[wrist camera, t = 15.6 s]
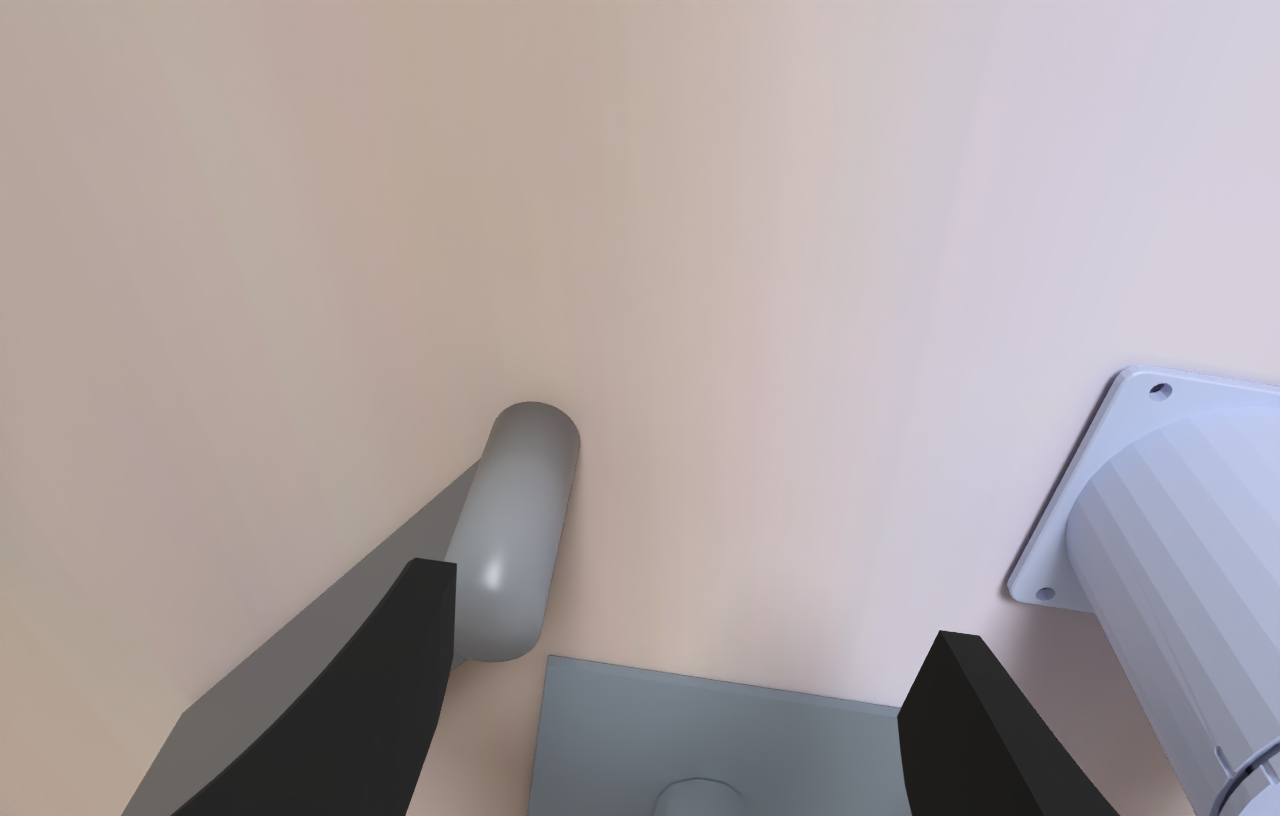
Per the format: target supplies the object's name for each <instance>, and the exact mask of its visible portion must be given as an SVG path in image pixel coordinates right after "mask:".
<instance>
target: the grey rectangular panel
mask: <svg viewBox="0 0 1280 816" xmlns="http://www.w3.org/2000/svg"><path fill="white" fill-rule="evenodd" d="M579 447H580V436H579V433H578V430H577V428H576V426H575V424H574V422H573V421H572V420H571V419H570V418H569V417H568V416H567V415H566V414H565V413H564V412H562V411H561V410H559V409H557V408H556V407H553V406H551V405H548V404H545V403H540V402H522V403H518V404H515V405H512V406H510V407H508V408H506V409H505V410H504V411H502V412H501V413H500V414H499V416H498V417H497V418H496V420H495V422H494V424H493V427H492V430H491V433H490V435H489V438H488V441H487V443H486V446H485V449H484V452H483V454H482V457H481V459H479V460H478V461H477V462H476V463H475V464H474V465H472V466H471V467H470V468H469V469H468V470H466V471H465V472H464V473H463V474H462V475H461V476H459V477H458V478H457V479H456V480H455V481H454V482H452V483H451V484H450V485H449V486H448V487H447V488H445V489H444V490H443V491H442V492H441V493H440V494H438V495H437V496H436V497H435V498H434V499H433V500H431V501H430V502H429V503H428V504H427V505H426V506H424V507H423V508H422V509H421V510H420V511H419V512H417V513H416V514H415V515H414V516H413V517H412V518H410V519H409V520H408V521H407V522H406V523H405V524H403V525H402V526H401V527H400V528H399V529H397V530H396V531H395V532H394V533H393V534H392V535H390V536H389V537H388V538H387V539H386V540H385V541H383V542H382V543H381V544H380V545H379V546H378V547H376V548H375V549H374V550H373V551H372V552H371V553H369V554H368V555H367V556H366V557H365V558H364V559H362V560H361V561H360V562H359V563H358V564H357V565H355V566H354V567H353V568H352V569H351V570H350V571H348V572H347V573H346V574H345V575H344V576H343V577H341V578H340V579H339V580H338V581H337V582H336V583H334V584H333V585H332V586H331V587H330V588H328V589H327V590H326V591H325V592H324V593H323V594H321V595H320V596H319V597H318V598H317V599H316V600H314V601H313V602H312V603H311V604H310V605H309V606H307V607H306V608H305V609H304V610H303V611H302V612H300V613H299V614H298V615H297V616H296V617H295V618H293V619H292V620H291V621H290V622H289V623H288V624H286V625H285V626H284V627H283V628H282V629H281V630H279V631H278V632H277V633H276V634H275V635H274V636H272V637H271V638H270V639H269V640H268V641H266V642H265V643H264V644H263V645H262V646H261V647H259V648H258V649H257V650H256V651H255V652H254V653H252V654H251V655H250V656H249V657H248V658H247V659H245V660H244V661H243V662H242V663H241V664H240V665H238V666H237V667H236V668H235V669H234V670H233V671H231V672H230V673H229V674H228V675H227V676H226V677H224V678H223V679H222V680H221V681H220V682H219V683H217V684H216V685H215V686H214V687H213V688H212V689H210V690H209V691H208V692H207V693H206V694H205V695H203V696H202V697H201V698H200V699H199V700H197V701H196V702H195V703H194V704H193V705H192V706H190V707H189V708H188V709H187V710H186V711H185V712H183V713H182V715H181V717H180V718H179V720H178V722H177V723H176V725H175V727H174V728H173V730H172V732H171V733H170V735H169V737H168V738H167V740H166V742H165V743H164V745H163V747H162V748H161V750H160V752H159V753H158V755H157V757H156V758H155V760H154V762H153V763H152V765H151V767H150V768H149V770H148V772H147V773H146V775H145V777H144V778H143V780H142V782H141V783H140V785H139V787H138V788H137V790H136V792H135V793H134V795H133V797H132V798H131V800H130V802H129V803H128V805H127V807H126V808H125V810H124V812H123V813H122V815H121V816H170V815H171V814H173V813H174V812H175V811H176V810H177V809H179V808H180V807H181V806H182V805H183V804H185V803H186V802H187V801H188V800H189V799H190V798H192V797H193V796H194V795H195V794H196V793H198V792H199V791H200V790H201V789H202V788H203V787H205V786H206V785H207V784H208V783H209V782H211V781H212V780H213V779H214V778H215V777H216V776H217V775H219V774H220V773H221V772H222V771H223V770H224V769H225V768H226V767H227V766H228V765H230V764H231V763H232V762H233V761H234V760H235V759H236V758H237V757H238V756H239V755H240V754H242V753H243V752H244V751H245V750H246V749H247V748H248V747H249V746H250V745H251V744H252V743H253V742H254V741H255V740H256V739H257V738H258V737H260V736H261V735H262V734H263V733H264V732H265V731H266V730H267V729H268V728H269V727H270V726H271V725H272V724H273V723H274V722H275V721H276V720H277V719H278V718H279V717H280V716H281V715H282V714H283V713H284V711H285V710H286V709H287V708H288V707H289V706H290V705H291V704H292V703H293V702H294V701H295V700H296V699H297V698H298V697H299V696H300V695H301V694H302V693H303V691H304V690H305V689H306V688H307V687H308V686H309V685H310V684H311V683H312V682H313V681H314V680H315V679H316V678H317V677H318V676H319V674H320V673H321V672H322V671H323V670H324V669H325V668H326V667H327V665H328V664H329V663H330V662H331V661H332V660H333V658H334V657H335V656H336V655H337V654H338V653H339V651H340V650H341V649H342V648H343V647H344V645H345V644H346V643H347V642H348V641H349V640H350V638H351V637H352V636H353V635H354V634H355V633H356V631H357V630H358V629H359V628H360V626H361V625H362V624H363V623H364V621H365V620H366V619H367V618H368V616H369V615H370V614H371V613H372V611H373V610H374V609H375V607H376V606H377V605H378V604H379V602H380V601H381V600H382V598H383V597H384V596H385V594H386V593H387V591H388V590H389V589H390V587H391V586H392V585H393V583H394V582H395V580H396V579H397V577H398V576H399V575H400V573H401V572H402V570H403V568H404V567H405V565H406V564H407V562H409V561H410V560H412V559H414V558H423V559H430V560H437V561H444V562H451V563H457V579H456V604H455V629H454V654H453V661H452V665H451V669H450V671H451V670H452V669H454V668H455V667H457V666H458V665H460V664H461V663H462V662H464V661H465V660H467V659H468V658H469V659H473V660H477V661H484V662H503V661H508V660H512V659H516V658H518V657H520V656H522V655H524V654H526V653H527V652H529V651H530V650H531V649H532V648H533V647H534V646H535V645H536V643H537V642H538V639H539V637H540V633H541V628H542V624H543V619H544V614H545V609H546V605H547V600H548V595H549V590H550V586H551V581H552V576H553V571H554V566H555V562H556V557H557V552H558V547H559V543H560V538H561V533H562V528H563V524H564V519H565V514H566V509H567V505H568V500H569V495H570V490H571V485H572V481H573V476H574V471H575V466H576V462H577V457H578V452H579Z"/></svg>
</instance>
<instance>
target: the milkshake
mask: <svg viewBox="0 0 1280 816" xmlns="http://www.w3.org/2000/svg"><path fill="white" fill-rule="evenodd" d="M654 816H745V814H744V807H743V799H742V796H741V795H740V794H739V793H737V792H736V791H734V790H733V789H732V788H730V787H729V786H727V785H726V784H725V783H723V782H718V781H711V780H705V779H699V778H693V779H689V780H685V781H681V782H677V783H672V784H670V785H669V786H668V787H667V788H666V789H665V790H664V791H663V792H662V793H661V795H660V796H659V797H658V798H657V801H656V807H655V815H654Z"/></svg>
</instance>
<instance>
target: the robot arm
mask: <svg viewBox="0 0 1280 816" xmlns="http://www.w3.org/2000/svg"><path fill="white" fill-rule="evenodd" d="M1161 383H1165V384H1164V386H1163V387H1162V389H1161V390H1159V391H1157V392H1155V393H1150V390H1151V389H1152V388H1153V387H1154V386H1156V385H1158V384H1161ZM456 579H457V563H451V562H444V561H437V560H430V559H423V558H414V559H412V560H410V561H409V562H407V564H406V565H405V567H404V568H403V570H402V572H401V573H400V575H399V576H398V577H397V579H396V580H395V582H394V583H393V585H392V586H391V587H390V589H389V590H388V591H387V593H386V594H385V596H384V597H383V598H382V600H381V601H380V602H379V604H378V605H377V606H376V607H375V609H374V610H373V611H372V613H371V614H370V615H369V616H368V618H367V619H366V620H365V621H364V623H363V624H362V625H361V626H360V628H359V629H358V630H357V631H356V633H355V634H354V635H353V636H352V637H351V638H350V640H349V641H348V642H347V643H346V644H345V645H344V647H343V648H342V649H341V650H340V651H339V653H338V654H337V655H336V656H335V657H334V658H333V660H332V661H331V662H330V663H329V664H328V665H327V667H326V668H325V669H324V670H323V671H322V672H321V673H320V674H319V676H318V677H317V678H316V679H315V680H314V681H313V682H312V683H311V684H310V685H309V686H308V687H307V688H306V689H305V690H304V691H303V693H302V694H301V695H300V696H299V697H298V698H297V699H296V700H295V701H294V702H293V703H292V704H291V705H290V706H289V707H288V708H287V709H286V710H285V711H284V713H283V714H282V715H281V716H280V717H279V718H278V719H277V720H276V721H275V722H274V723H273V724H272V725H271V726H270V727H269V728H268V729H267V730H266V731H265V732H264V733H263V734H262V735H261V736H260V737H258V738H257V739H256V740H255V741H254V742H253V743H252V744H251V745H250V746H249V747H248V748H247V749H246V750H245V751H244V752H243V753H242V754H240V755H239V756H238V757H237V758H236V759H235V760H234V761H233V762H232V763H231V764H230V765H228V766H227V767H226V768H225V769H224V770H223V771H222V772H221V773H220V774H219V775H217V776H216V777H215V778H214V779H213V780H212V781H211V782H209V783H208V784H207V785H206V786H205V787H203V788H202V789H201V790H200V791H199V792H198V793H196V794H195V795H194V796H193V797H192V798H190V799H189V800H188V801H187V802H186V803H185V804H183V805H182V806H181V807H180V808H179V809H177V810H176V811H175V812H174V813H173V814H171V815H170V816H405V815H406V812H407V809H408V806H409V804H410V801H411V798H412V795H413V792H414V789H415V787H416V784H417V781H418V778H419V775H420V772H421V770H422V767H423V764H424V761H425V758H426V755H427V752H428V750H429V747H430V744H431V741H432V738H433V735H434V732H435V729H436V727H437V724H438V720H439V715H440V711H441V707H442V703H443V699H444V695H445V691H446V686H447V682H448V678H449V674H450V669H451V665H452V661H453V654H454V629H455V604H456ZM1007 586H1008V589H1009V592H1010V594H1011V597H1012V598H1013V599H1014V600H1016V601H1019V602H1023V603H1029V604H1035V605H1042V606H1048V607H1055V608H1061V609H1068V610H1074V611H1081V612H1087V613H1094V614H1096V616H1097V618H1098V620H1099V622H1100V624H1101V626H1102V628H1103V630H1104V632H1105V634H1106V636H1107V638H1108V640H1109V642H1110V644H1111V646H1112V648H1113V650H1114V652H1115V654H1116V656H1117V658H1118V660H1119V662H1120V664H1121V666H1122V668H1123V670H1124V672H1125V674H1126V676H1127V678H1128V680H1129V682H1130V684H1131V686H1132V688H1133V690H1134V692H1135V694H1136V696H1137V698H1138V700H1139V702H1140V704H1141V706H1142V708H1143V710H1144V712H1145V714H1146V716H1147V718H1148V720H1149V722H1150V724H1151V726H1152V728H1153V730H1154V732H1155V734H1156V736H1157V738H1158V740H1159V742H1160V744H1161V746H1162V748H1163V750H1164V752H1165V754H1166V756H1167V758H1168V760H1169V762H1170V764H1171V766H1172V768H1173V770H1174V772H1175V774H1176V776H1177V778H1178V780H1179V782H1180V784H1181V786H1182V788H1183V790H1184V792H1185V794H1186V796H1187V798H1188V800H1189V802H1190V804H1191V806H1192V808H1193V810H1194V812H1195V814H1196V816H1280V387H1279V386H1272V385H1266V384H1260V383H1254V382H1248V381H1242V380H1236V379H1230V378H1223V377H1217V376H1211V375H1205V374H1199V373H1193V372H1187V371H1180V370H1174V369H1168V368H1162V367H1156V366H1150V365H1133V366H1130V367H1127V368H1126V369H1124V370H1123V371H1121V372H1120V373H1119V374H1118V376H1117V377H1116V378H1115V380H1114V382H1113V384H1112V386H1111V388H1110V389H1109V391H1108V393H1107V395H1106V397H1105V399H1104V401H1103V403H1102V405H1101V406H1100V408H1099V410H1098V412H1097V414H1096V416H1095V418H1094V420H1093V422H1092V423H1091V425H1090V427H1089V429H1088V431H1087V433H1086V435H1085V437H1084V438H1083V440H1082V442H1081V444H1080V446H1079V448H1078V450H1077V452H1076V454H1075V455H1074V457H1073V459H1072V461H1071V463H1070V465H1069V467H1068V469H1067V470H1066V472H1065V474H1064V476H1063V478H1062V480H1061V482H1060V484H1059V486H1058V487H1057V489H1056V491H1055V493H1054V495H1053V497H1052V499H1051V501H1050V503H1049V504H1048V506H1047V508H1046V510H1045V512H1044V514H1043V516H1042V518H1041V519H1040V521H1039V523H1038V525H1037V527H1036V529H1035V531H1034V533H1033V535H1032V536H1031V538H1030V540H1029V542H1028V544H1027V546H1026V548H1025V550H1024V552H1023V553H1022V555H1021V557H1020V559H1019V561H1018V563H1017V565H1016V567H1015V568H1014V570H1013V572H1012V574H1011V576H1010V578H1009V580H1008V583H1007ZM1042 588H1047V589H1045V590H1042V591H1039V590H1040V589H1042ZM897 722H898V732H899V742H900V752H901V760H902V767H903V775H904V783H905V788H906V792H907V797H908V801H909V805H910V810H911V814H912V816H1120V815H1119V814H1118V813H1117V812H1116V811H1115V810H1114V808H1113V807H1112V806H1111V805H1110V804H1109V803H1108V801H1107V800H1106V799H1105V798H1104V797H1103V795H1102V794H1101V793H1100V792H1099V791H1098V789H1097V788H1096V787H1095V786H1094V785H1093V783H1092V782H1091V781H1090V780H1089V778H1088V777H1087V776H1086V775H1085V774H1084V772H1083V771H1082V770H1081V769H1080V767H1079V766H1078V765H1077V764H1076V762H1075V761H1074V760H1073V758H1072V757H1071V756H1070V755H1069V753H1068V752H1067V751H1066V750H1065V748H1064V747H1063V746H1062V744H1061V743H1060V742H1059V741H1058V739H1057V738H1056V737H1055V735H1054V734H1053V733H1052V731H1051V730H1050V729H1049V728H1048V726H1047V725H1046V724H1045V722H1044V721H1043V720H1042V718H1041V717H1040V716H1039V714H1038V713H1037V712H1036V710H1035V709H1034V708H1033V706H1032V705H1031V704H1030V702H1029V701H1028V700H1027V698H1026V697H1025V696H1024V694H1023V693H1022V692H1021V690H1020V689H1019V688H1018V686H1017V685H1016V684H1015V682H1014V681H1013V680H1012V678H1011V677H1010V675H1009V674H1008V673H1007V671H1006V670H1005V669H1004V667H1003V666H1002V665H1001V663H1000V662H999V661H998V659H997V658H996V657H995V655H994V654H993V653H992V651H991V650H990V649H989V647H988V646H987V645H986V643H985V642H984V641H983V640H982V638H981V637H980V636H978V635H970V634H963V633H956V632H949V631H942V630H940V631H939V633H938V635H937V637H936V639H935V641H934V643H933V645H932V647H931V649H930V651H929V653H928V655H927V657H926V659H925V661H924V663H923V665H922V667H921V669H920V671H919V673H918V675H917V677H916V679H915V681H914V683H913V685H912V687H911V689H910V691H909V693H908V695H907V697H906V699H905V701H904V703H903V705H902V707H901V709H900V711H899V713H898V715H897Z"/></svg>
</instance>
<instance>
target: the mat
mask: <svg viewBox="0 0 1280 816" xmlns="http://www.w3.org/2000/svg"><path fill="white" fill-rule="evenodd" d="M900 709H901V708H895V707H889V706H882V705H875V704H869V703H862V702H856V701H849V700H842V699H836V698H829V697H823V696H816V695H809V694H803V693H796V692H789V691H783V690H776V689H770V688H763V687H756V686H750V685H743V684H737V683H730V682H723V681H717V680H710V679H703V678H697V677H690V676H684V675H677V674H670V673H664V672H657V671H651V670H644V669H637V668H631V667H624V666H617V665H611V664H604V663H598V662H591V661H584V660H578V659H571V658H565V657H558V656H551V655H549V658H548V663H547V670H546V678H545V685H544V693H543V701H542V708H541V716H540V723H539V731H538V739H537V746H536V754H535V761H534V769H533V776H532V784H531V792H530V799H529V807H528V814H527V816H654V815H655V807H656V801H657V798H658V797H659V796H660V795H661V793H662V792H663V791H664V790H665V789H666V788H667V787H668V786H669V785H670V784H672V783H677V782H681V781H685V780H689V779H693V778H699V779H705V780H711V781H718V782H723V783H725V784H726V785H727V786H729V787H730V788H732V789H733V790H734V791H736V792H737V793H739V794H740V795H741V796H742V799H743V807H744V814H745V816H912V814H911V810H910V805H909V801H908V797H907V792H906V788H905V783H904V775H903V767H902V760H901V752H900V742H899V732H898V722H897V715H898V713H899V711H900Z"/></svg>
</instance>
